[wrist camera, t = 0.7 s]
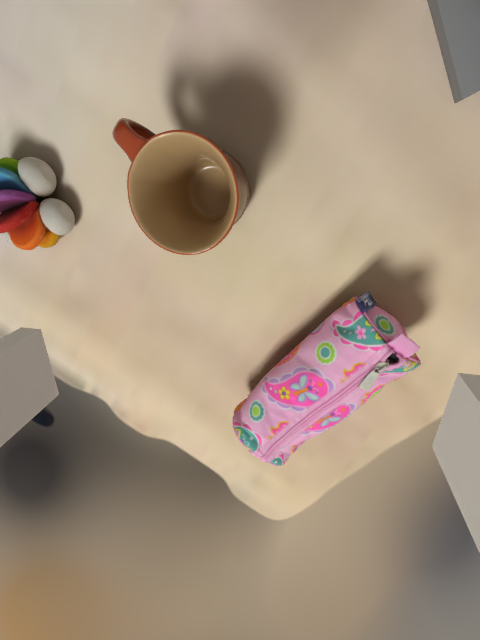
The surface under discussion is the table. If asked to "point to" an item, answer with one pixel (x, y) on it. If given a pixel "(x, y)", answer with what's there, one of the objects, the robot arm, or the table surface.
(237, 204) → the mug
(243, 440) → the pencil case
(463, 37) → the valve fixture
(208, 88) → the table surface
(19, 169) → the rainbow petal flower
